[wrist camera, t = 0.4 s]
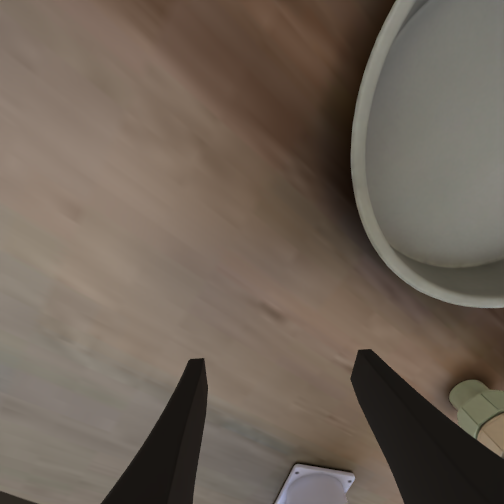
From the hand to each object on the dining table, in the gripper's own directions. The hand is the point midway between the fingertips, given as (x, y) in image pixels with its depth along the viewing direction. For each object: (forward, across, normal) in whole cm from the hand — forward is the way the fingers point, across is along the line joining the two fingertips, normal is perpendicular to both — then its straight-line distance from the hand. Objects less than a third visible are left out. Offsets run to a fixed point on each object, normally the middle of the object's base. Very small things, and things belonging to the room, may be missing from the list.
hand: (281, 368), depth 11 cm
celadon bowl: (+8, -23, +16) cm, 29 cm away
